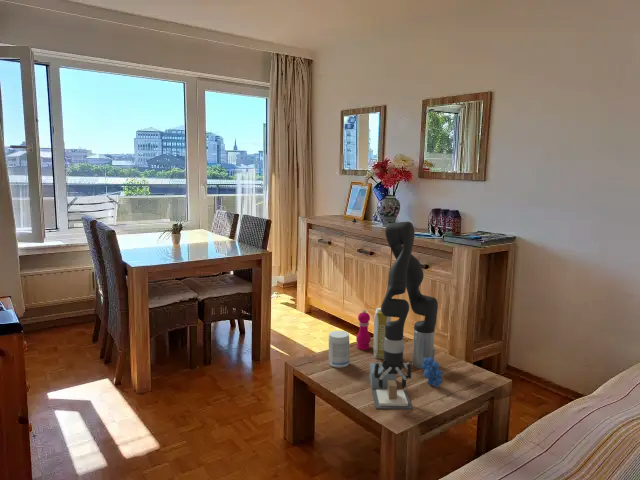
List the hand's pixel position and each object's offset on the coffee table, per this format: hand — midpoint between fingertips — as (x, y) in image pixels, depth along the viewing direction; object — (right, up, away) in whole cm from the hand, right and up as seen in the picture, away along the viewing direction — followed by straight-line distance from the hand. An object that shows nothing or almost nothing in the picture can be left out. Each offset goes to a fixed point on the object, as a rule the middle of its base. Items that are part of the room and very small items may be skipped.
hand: (392, 387), depth 185 cm
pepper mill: (-6, +3, +53) cm, 54 cm away
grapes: (+18, -4, +14) cm, 23 cm away
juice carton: (+1, +2, +43) cm, 43 cm away
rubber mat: (0, -5, +1) cm, 5 cm away
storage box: (-2, -3, +15) cm, 15 cm away
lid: (0, -5, +1) cm, 5 cm away
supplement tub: (-20, 0, +34) cm, 39 cm away
